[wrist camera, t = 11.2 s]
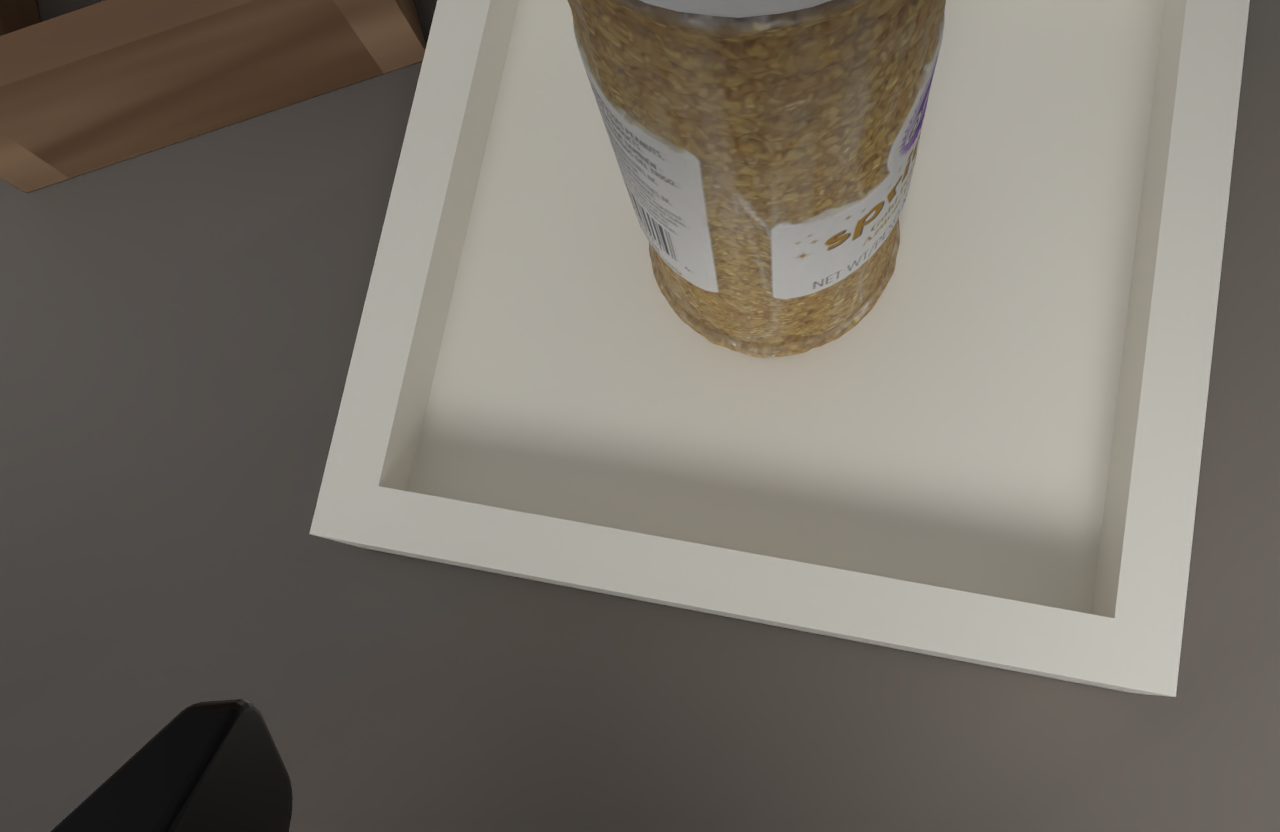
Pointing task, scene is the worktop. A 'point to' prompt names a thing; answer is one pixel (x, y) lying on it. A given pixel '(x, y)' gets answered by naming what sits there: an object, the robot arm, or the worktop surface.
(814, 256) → the sprinkles bottle
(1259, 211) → the worktop surface
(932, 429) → the cream tray
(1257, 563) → the worktop surface
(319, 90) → the walnut holder
